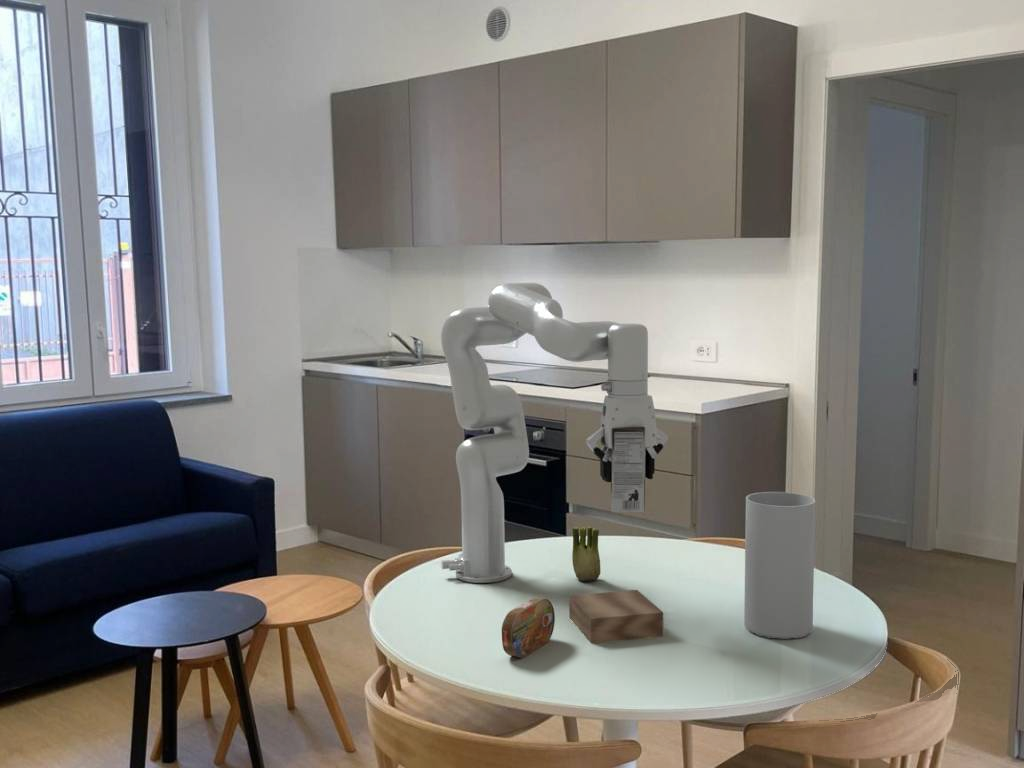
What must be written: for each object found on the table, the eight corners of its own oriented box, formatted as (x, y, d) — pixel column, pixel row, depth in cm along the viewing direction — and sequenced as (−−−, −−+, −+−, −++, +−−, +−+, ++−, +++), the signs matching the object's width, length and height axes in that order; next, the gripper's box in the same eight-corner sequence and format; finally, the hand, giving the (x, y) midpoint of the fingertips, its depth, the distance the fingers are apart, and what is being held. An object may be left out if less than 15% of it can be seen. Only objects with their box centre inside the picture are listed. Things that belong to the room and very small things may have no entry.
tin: (513, 664, 176) (513, 617, 175) (498, 661, 178) (497, 614, 177) (556, 638, 189) (556, 593, 188) (541, 635, 191) (541, 591, 190)
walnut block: (591, 645, 186) (591, 618, 185) (569, 620, 199) (569, 595, 199) (663, 638, 189) (663, 612, 188) (637, 614, 203) (637, 589, 202)
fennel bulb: (569, 579, 225) (569, 526, 223) (585, 575, 228) (585, 522, 227) (589, 585, 220) (588, 531, 219) (604, 580, 224) (604, 527, 222)
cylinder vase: (730, 623, 195) (732, 495, 193) (783, 614, 200) (786, 489, 198) (771, 644, 184) (774, 509, 181) (826, 634, 189) (829, 502, 186)
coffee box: (610, 501, 201) (610, 420, 199) (642, 502, 200) (643, 420, 198) (611, 512, 192) (611, 427, 190) (645, 512, 191) (646, 428, 189)
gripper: (592, 392, 187) (592, 486, 189) (678, 388, 192) (677, 480, 194) (577, 388, 194) (578, 478, 196) (661, 384, 199) (660, 472, 201)
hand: (627, 478), depth 195 cm, fingers closed on coffee box, 8 cm apart
